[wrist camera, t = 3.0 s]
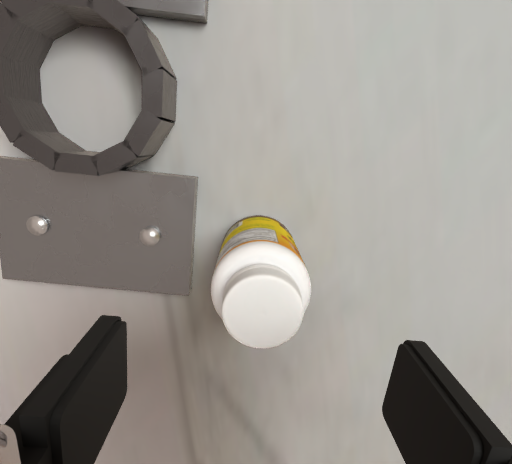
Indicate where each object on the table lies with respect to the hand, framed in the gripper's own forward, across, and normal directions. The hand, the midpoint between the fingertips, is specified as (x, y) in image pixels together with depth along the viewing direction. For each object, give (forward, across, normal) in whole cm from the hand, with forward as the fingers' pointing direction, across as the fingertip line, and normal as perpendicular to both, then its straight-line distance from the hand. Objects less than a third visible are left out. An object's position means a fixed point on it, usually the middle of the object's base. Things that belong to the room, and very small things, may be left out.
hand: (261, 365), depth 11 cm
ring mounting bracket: (+15, +12, -9) cm, 21 cm away
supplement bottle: (+15, 0, +1) cm, 15 cm away
